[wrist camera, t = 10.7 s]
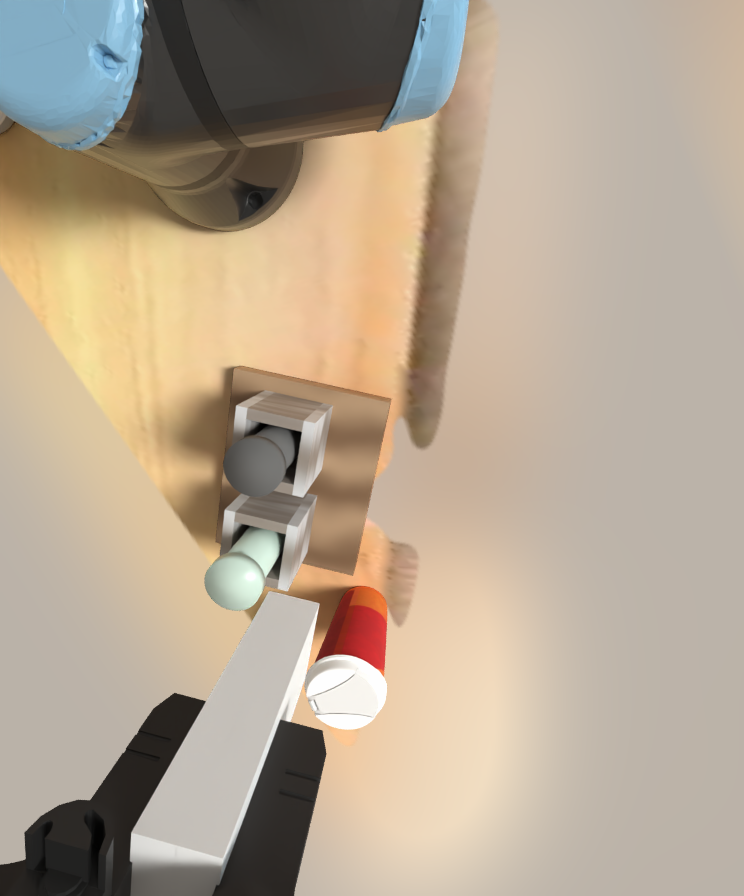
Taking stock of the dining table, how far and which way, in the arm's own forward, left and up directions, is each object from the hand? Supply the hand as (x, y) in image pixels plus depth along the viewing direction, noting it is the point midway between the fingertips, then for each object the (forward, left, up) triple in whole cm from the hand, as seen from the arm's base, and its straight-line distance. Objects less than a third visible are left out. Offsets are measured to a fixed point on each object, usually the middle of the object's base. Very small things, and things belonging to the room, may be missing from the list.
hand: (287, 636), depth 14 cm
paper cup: (+25, +2, -37) cm, 44 cm away
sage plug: (+15, -9, -32) cm, 37 cm away
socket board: (+10, -8, -36) cm, 39 cm away
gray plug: (+5, -9, -34) cm, 35 cm away
